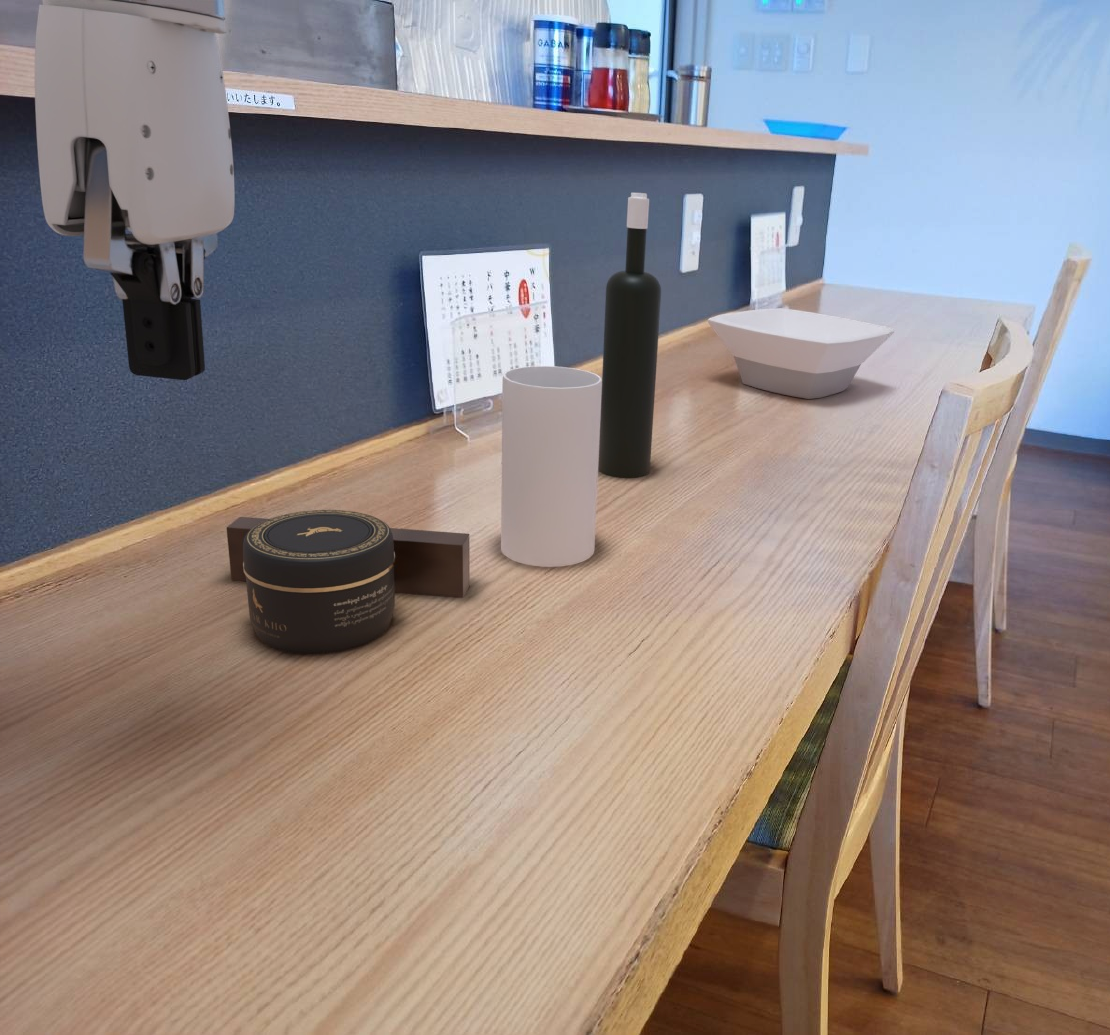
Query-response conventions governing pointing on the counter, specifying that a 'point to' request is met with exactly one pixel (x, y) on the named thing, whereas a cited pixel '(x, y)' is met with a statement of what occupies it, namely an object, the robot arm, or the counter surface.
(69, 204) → the robot arm
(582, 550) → the cup
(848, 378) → the bowl
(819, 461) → the counter surface
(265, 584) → the jar
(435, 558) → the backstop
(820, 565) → the counter surface
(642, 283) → the wine bottle
